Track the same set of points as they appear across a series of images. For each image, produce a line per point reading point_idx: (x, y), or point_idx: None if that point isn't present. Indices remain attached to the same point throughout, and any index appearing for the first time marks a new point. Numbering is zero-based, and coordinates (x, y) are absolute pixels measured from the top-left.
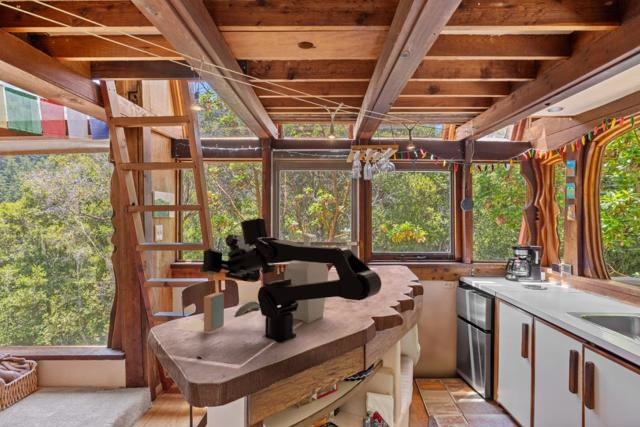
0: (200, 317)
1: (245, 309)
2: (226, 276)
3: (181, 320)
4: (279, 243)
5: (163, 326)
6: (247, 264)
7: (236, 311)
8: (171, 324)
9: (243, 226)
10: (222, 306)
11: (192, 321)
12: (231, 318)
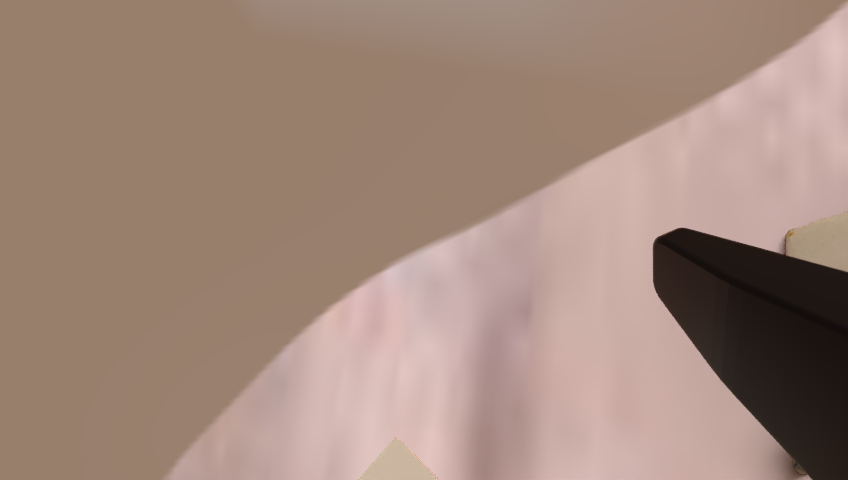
0: (470, 303)
1: None
2: (675, 310)
3: (327, 347)
4: None
5: (191, 475)
6: None
7: (813, 246)
8: (246, 439)
9: None
10: None
11: (377, 478)
12: (750, 431)
